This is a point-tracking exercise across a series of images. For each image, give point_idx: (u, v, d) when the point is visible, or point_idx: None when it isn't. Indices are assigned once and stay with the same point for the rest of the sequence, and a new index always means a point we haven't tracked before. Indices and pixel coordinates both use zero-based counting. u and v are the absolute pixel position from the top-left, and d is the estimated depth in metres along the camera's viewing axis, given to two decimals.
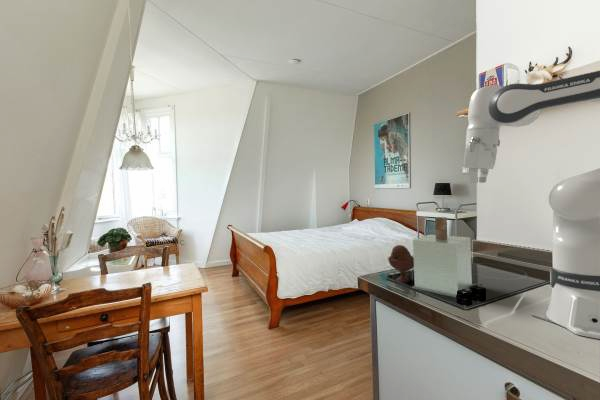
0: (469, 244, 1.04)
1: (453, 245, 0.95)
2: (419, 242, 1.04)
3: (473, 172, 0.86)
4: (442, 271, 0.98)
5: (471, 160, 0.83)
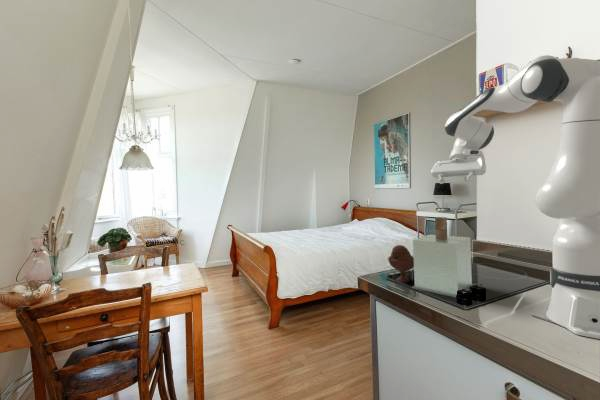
0: (469, 244, 1.04)
1: (453, 245, 0.95)
2: (419, 242, 1.04)
3: (438, 177, 1.20)
4: (442, 271, 0.98)
5: None
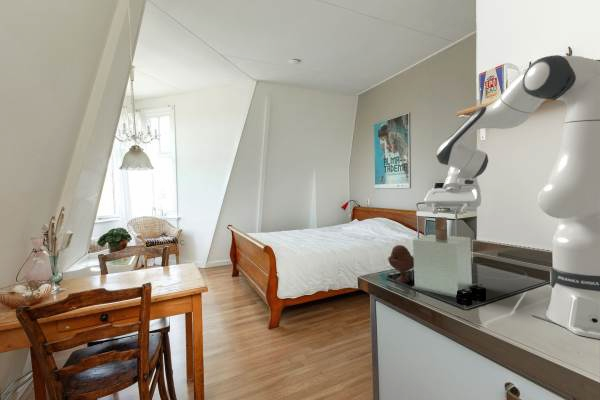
0: (469, 244, 1.04)
1: (453, 245, 0.95)
2: (419, 242, 1.04)
3: (432, 206, 1.15)
4: (442, 271, 0.98)
5: None
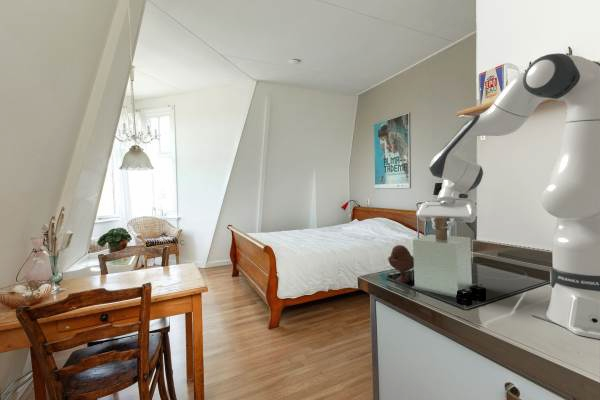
0: (469, 244, 1.04)
1: (453, 245, 0.95)
2: (419, 242, 1.04)
3: (432, 221, 1.09)
4: (442, 271, 0.98)
5: None
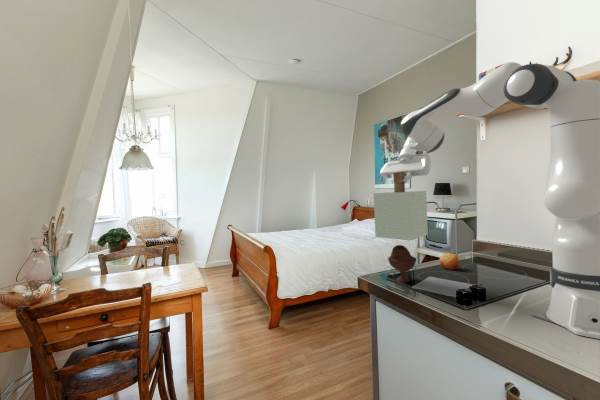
0: (425, 196, 1.13)
1: (406, 193, 1.04)
2: (378, 194, 1.13)
3: None
4: (398, 219, 1.07)
5: None
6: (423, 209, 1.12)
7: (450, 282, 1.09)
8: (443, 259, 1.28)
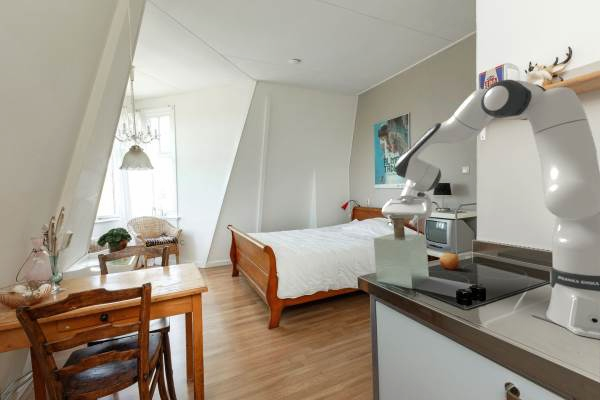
0: (424, 241, 1.14)
1: (406, 242, 1.05)
2: (379, 240, 1.14)
3: None
4: (398, 266, 1.08)
5: None
6: (423, 254, 1.13)
7: (450, 282, 1.09)
8: (443, 259, 1.28)
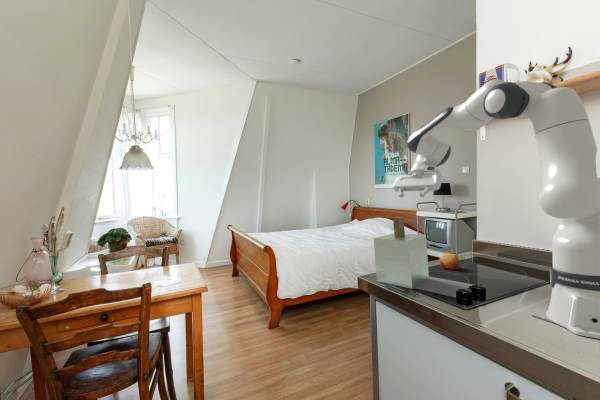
0: (424, 241, 1.14)
1: (406, 242, 1.05)
2: (379, 240, 1.14)
3: None
4: (398, 266, 1.08)
5: None
6: (423, 254, 1.13)
7: (450, 282, 1.09)
8: (443, 259, 1.28)
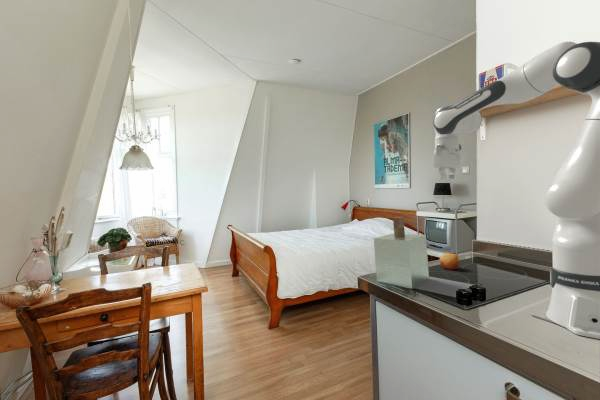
0: (424, 241, 1.14)
1: (406, 242, 1.05)
2: (379, 240, 1.14)
3: (441, 170, 1.14)
4: (398, 266, 1.08)
5: (438, 161, 1.11)
6: (423, 254, 1.13)
7: (450, 282, 1.09)
8: (443, 259, 1.28)
